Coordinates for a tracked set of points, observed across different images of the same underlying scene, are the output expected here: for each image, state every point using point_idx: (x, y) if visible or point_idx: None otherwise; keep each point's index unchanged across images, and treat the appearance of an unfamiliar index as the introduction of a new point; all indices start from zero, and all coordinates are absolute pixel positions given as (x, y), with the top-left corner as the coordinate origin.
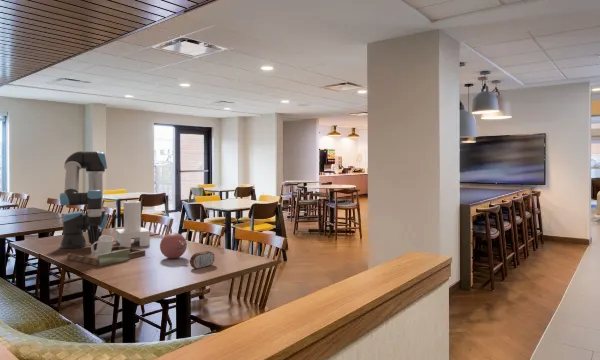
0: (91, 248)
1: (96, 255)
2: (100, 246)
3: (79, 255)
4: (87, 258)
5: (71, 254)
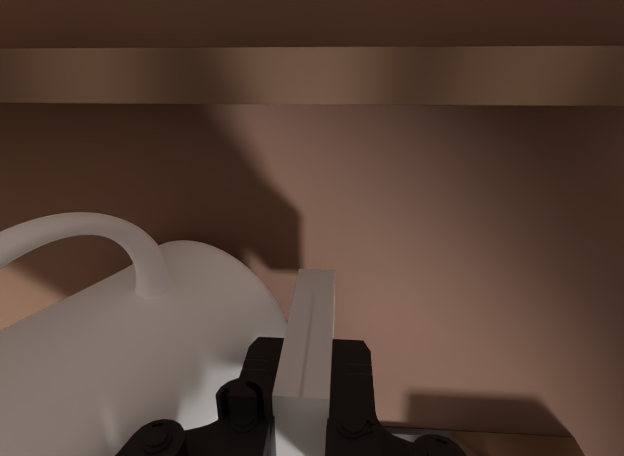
0: (52, 216)
1: (179, 259)
2: None
3: (388, 92)
4: (65, 48)
5: (622, 54)
